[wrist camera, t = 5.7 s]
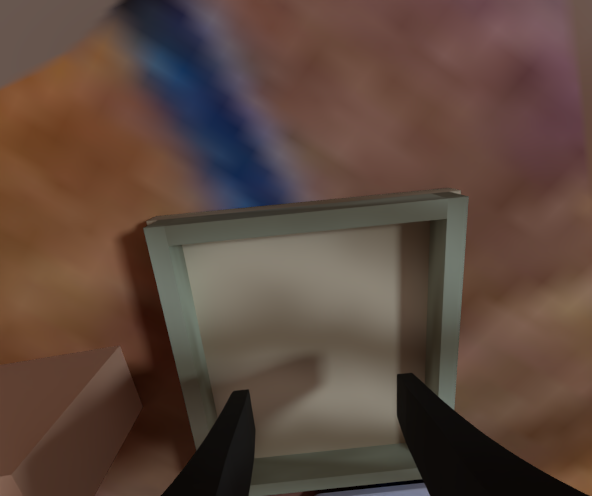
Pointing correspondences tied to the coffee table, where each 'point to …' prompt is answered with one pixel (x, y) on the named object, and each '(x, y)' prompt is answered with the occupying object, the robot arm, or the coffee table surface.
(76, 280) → the coffee table surface
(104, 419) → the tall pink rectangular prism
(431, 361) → the shallow square tray
